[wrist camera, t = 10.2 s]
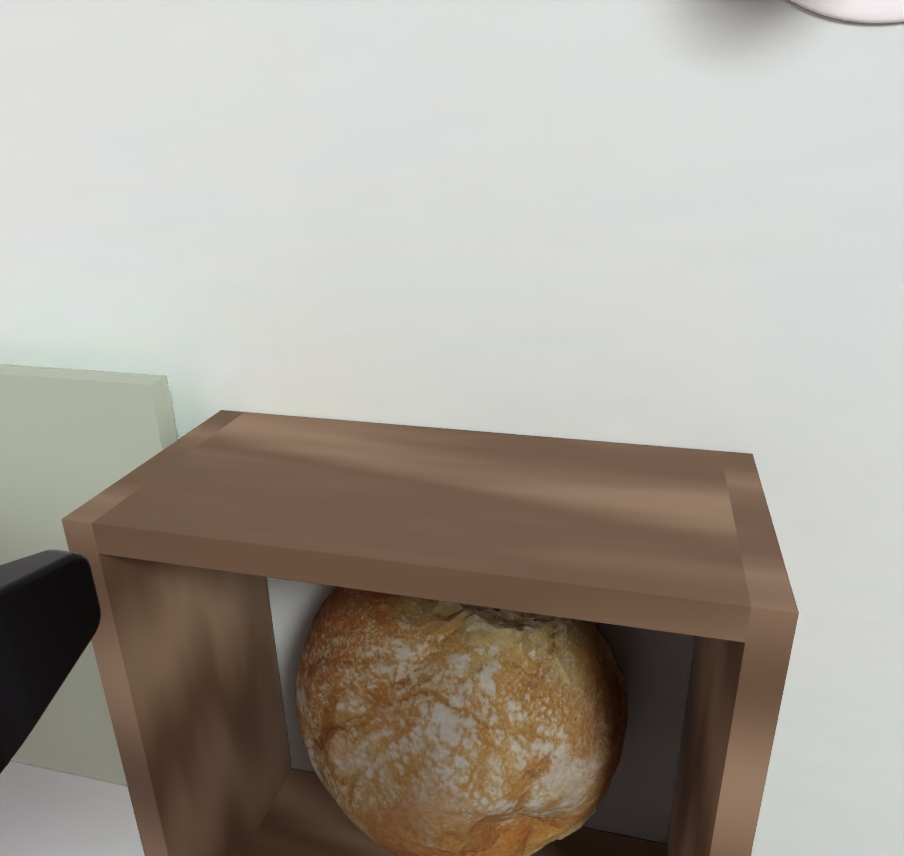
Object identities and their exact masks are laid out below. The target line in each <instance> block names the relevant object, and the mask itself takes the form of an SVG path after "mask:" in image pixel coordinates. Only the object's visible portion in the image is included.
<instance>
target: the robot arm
mask: <svg viewBox="0 0 904 856" xmlns="http://www.w3.org/2000/svg"><path fill="white" fill-rule="evenodd" d="M100 619H101V608H100V604H99V599H98V595H97V591H96V587H95V583H94V578H93V574H92V570H91V566H90V563H89V561H88V560H87V558H86V557H85V556H84V555H82V554H80V553H77V552H70V551H63V550H55V549H53V550H46V551H42V552H39V553H36V554H33V555H30V556H27V557H24V558H21V559H18V560H14V561H11V562H8V563H5V564H2V565H0V774H1V772H2V771H3V770H4V768H5V767H6V766H7V765H8V763H9V762H10V761H11V759H12V758H13V757H14V755H15V754H16V753H17V751H18V750H19V749H20V747H21V746H22V745H23V743H24V742H25V740H26V739H27V737H28V736H29V734H30V733H31V731H32V730H33V728H34V727H35V725H36V724H37V722H38V721H39V719H40V718H41V716H42V715H43V713H44V712H45V710H46V709H47V707H48V706H49V704H50V702H51V701H52V699H53V698H54V696H55V695H56V693H57V692H58V690H59V689H60V687H61V686H62V684H63V682H64V681H65V679H66V678H67V676H68V675H69V673H70V672H71V670H72V669H73V667H74V666H75V664H76V663H77V661H78V659H79V658H80V656H81V655H82V653H83V652H84V650H85V649H86V647H87V646H88V644H89V643H90V641H91V639H92V638H93V636H94V635H95V633H96V631H97V629H98V627H99V624H100Z"/></svg>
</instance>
